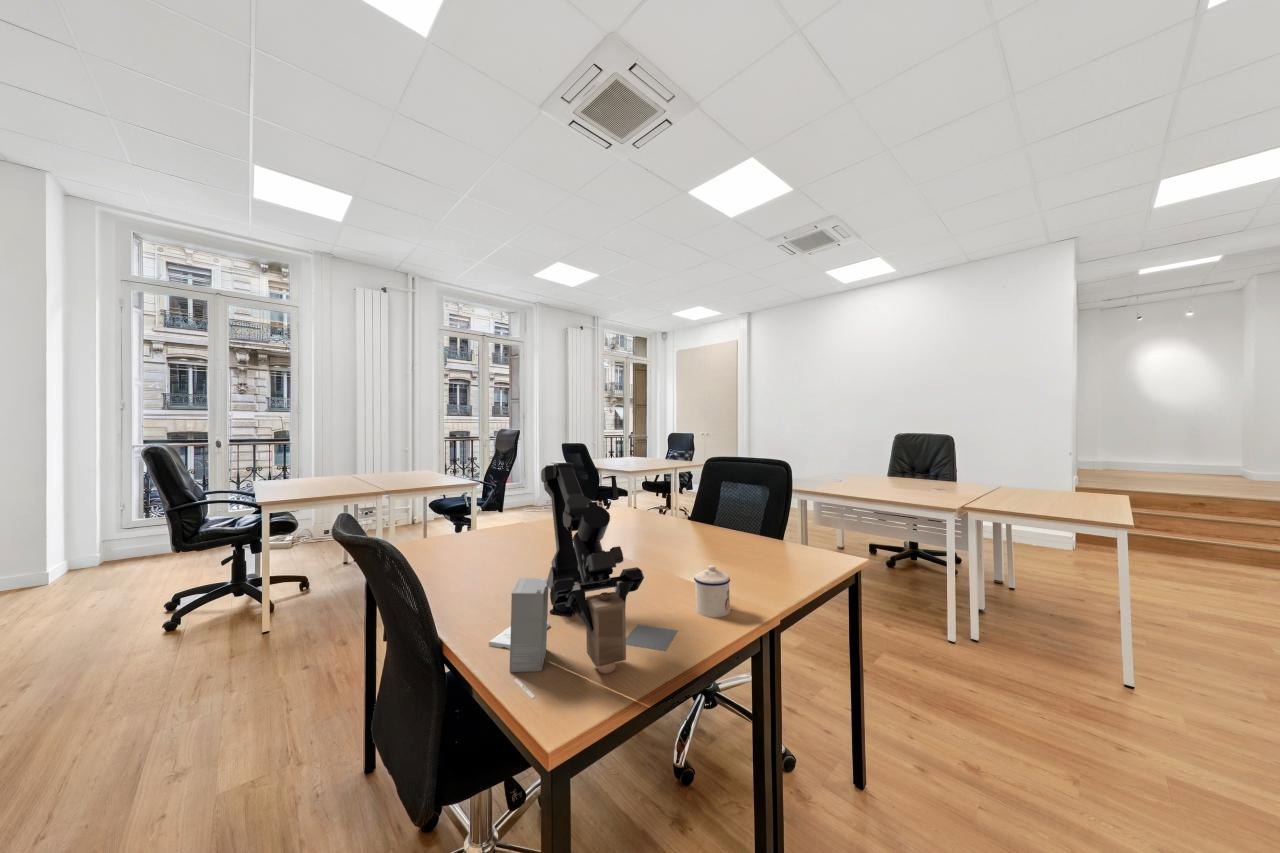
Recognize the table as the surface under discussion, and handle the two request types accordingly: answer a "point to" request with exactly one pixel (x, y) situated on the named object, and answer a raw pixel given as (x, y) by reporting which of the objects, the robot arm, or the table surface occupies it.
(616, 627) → the brown box
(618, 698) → the table surface
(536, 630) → the skincare box
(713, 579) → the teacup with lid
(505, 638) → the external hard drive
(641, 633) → the rubber coaster
